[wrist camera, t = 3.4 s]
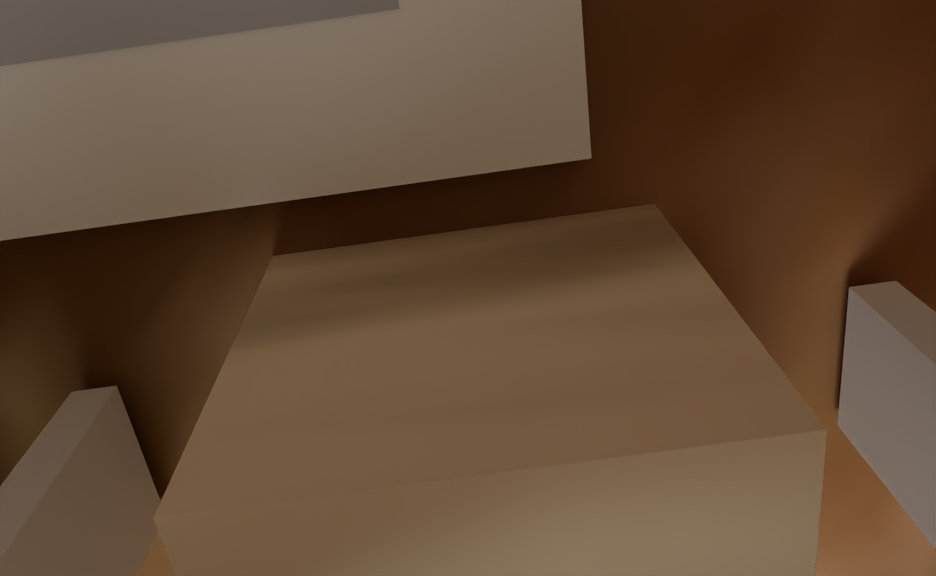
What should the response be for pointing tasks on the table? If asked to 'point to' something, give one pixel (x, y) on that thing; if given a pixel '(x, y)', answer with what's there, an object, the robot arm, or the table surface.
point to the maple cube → (498, 416)
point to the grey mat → (273, 101)
